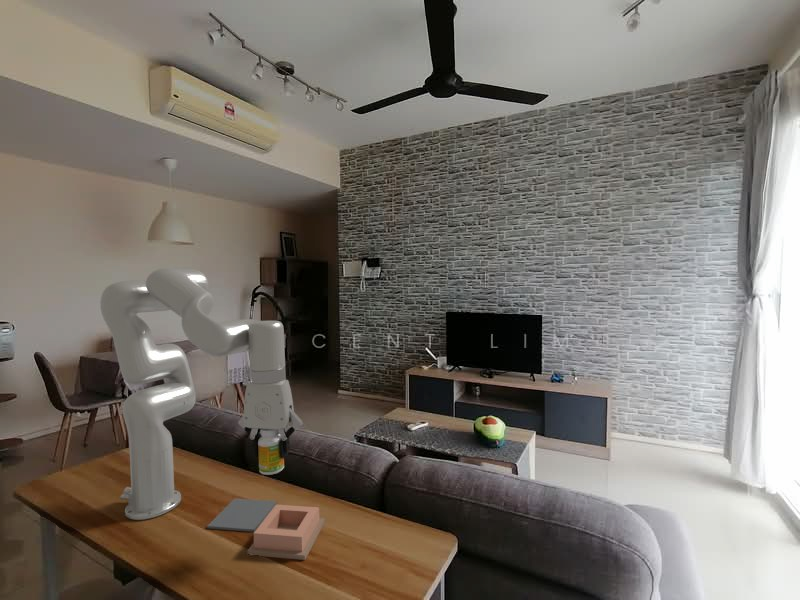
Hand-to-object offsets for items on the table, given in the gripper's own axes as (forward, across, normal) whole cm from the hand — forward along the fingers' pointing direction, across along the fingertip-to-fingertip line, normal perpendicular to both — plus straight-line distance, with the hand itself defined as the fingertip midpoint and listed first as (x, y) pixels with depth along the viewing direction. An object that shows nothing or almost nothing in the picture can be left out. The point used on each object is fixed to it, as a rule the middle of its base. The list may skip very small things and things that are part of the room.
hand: (271, 454), depth 88 cm
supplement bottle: (+4, 0, 0) cm, 4 cm away
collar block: (+20, +2, +2) cm, 20 cm away
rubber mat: (+20, -13, +8) cm, 25 cm away
